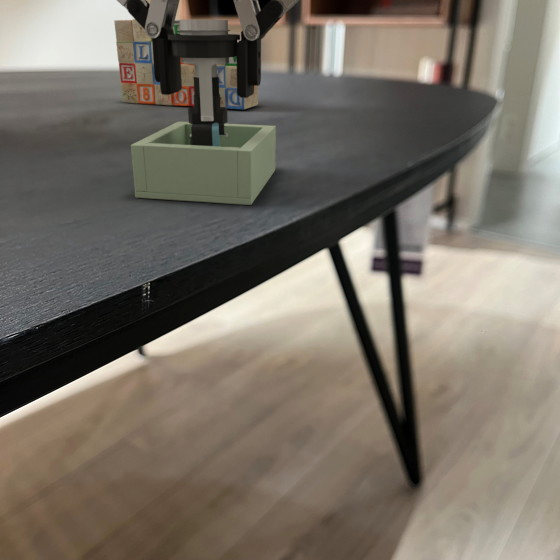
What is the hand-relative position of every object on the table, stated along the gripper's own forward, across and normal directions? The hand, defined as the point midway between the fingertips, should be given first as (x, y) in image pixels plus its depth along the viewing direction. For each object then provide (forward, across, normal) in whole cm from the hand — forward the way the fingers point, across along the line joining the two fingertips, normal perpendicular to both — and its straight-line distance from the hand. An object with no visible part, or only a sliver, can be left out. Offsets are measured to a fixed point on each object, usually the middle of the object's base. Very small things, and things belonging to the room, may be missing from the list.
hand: (208, 91), depth 45 cm
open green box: (+7, 0, 0) cm, 7 cm away
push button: (+5, 0, 0) cm, 5 cm away
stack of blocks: (+7, +16, -46) cm, 49 cm away
